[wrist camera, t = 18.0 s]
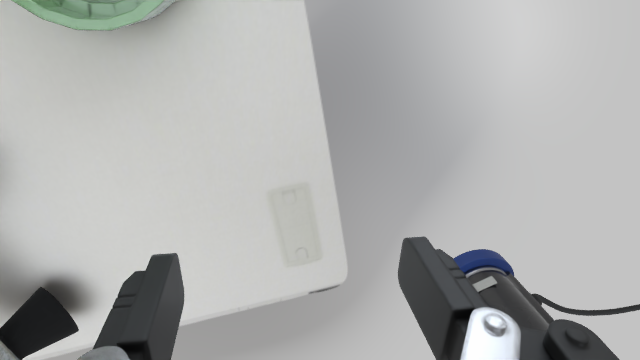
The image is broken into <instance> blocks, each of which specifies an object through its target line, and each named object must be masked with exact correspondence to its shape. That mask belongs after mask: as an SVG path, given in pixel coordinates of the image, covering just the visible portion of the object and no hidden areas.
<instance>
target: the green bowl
mask: <svg viewBox="0 0 640 360" xmlns="http://www.w3.org/2000/svg"><path fill="white" fill-rule="evenodd" d="M12 1H13V2H15V3H17V4H18V5H20V6H22V7H23V8H25V9H27V10H28V11H30V12H31V13H33V14H35V15H36V16H38V17H40V18H42V19H44V20H47V21H50V22H53V23H57V24H60V25H63V26H66V27H69V28H72V29H76V30H105V31H110V30H114V29H118V28H122V27H125V26H129V25H132V24H135V23H138V22H142V21H145V20H148V19H151V18H154V17H156V16H158V15H159V14H160V13H161V12H162V11H164V10H165V9H166V8H167V7H169V6H170V5H171V4H172V3H173V2H175V1H176V0H12Z"/></svg>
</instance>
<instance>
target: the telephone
mask: <svg viewBox="0 0 640 360" xmlns="http://www.w3.org/2000/svg"><path fill="white" fill-rule="evenodd" d="M78 330H79V329H78V327H77V325H76V323H75V321H74V320H73V319H72V317H71V316H70V314H69V313H68V312H67V311H66V309H65V308H64V307H63V306H62V305H61V304H60V303H59V301H58V300H57V299H56V298H55V297H54V296H53V295H51V294H50V293H49V292H48V291H47V290H45V289H44V288H42V287H40V288H39V289H38V290H37V291H36V292H35V293H34V294H33V295H32V296H31V297H30V298H29V299H28V300H27V301H26V302H25V303H24V304H23V305H22V306H21V307H20V309H19V310H18V311H17V312H16V313H15V314H14V315H13V316H12V317H11V318H10V319H9V320H8V321H7V322H6V323H5V324H4V325H3V326H2V327H1V328H0V360H22V359H23V358H24V357H26V356H28V355H30V354H32V353H34V352H36V351H38V350H40V349H42V348H45V347H47V346H49V345H51V344H53V343H55V342H57V341H59V340H61V339H63V338H66V337H68V336H70V335H72V334H74V333H76V332H77V331H78Z"/></svg>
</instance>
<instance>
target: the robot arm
mask: <svg viewBox="0 0 640 360" xmlns="http://www.w3.org/2000/svg"><path fill="white" fill-rule="evenodd" d="M398 279H399V284H400V287H401V289H402V291H403V293H404V295H405V298H406V300H407V302H408V303H409V306H410V308H411V310H412V312H413V314H414V315H415V318H416V320H417V322H418V324H419V326H420V328H421V330H422V332H423V334H424V336H425V337H426V340H427V342H428V344H429V346H430V348H431V350H432V352H433V354H434V356H435V358H436V360H619V359H618V358H617V356H616V355H615V354H613V352H612V351H611V350H610V349H609V348H608V347H607V346H606V345H605V344H604V343H603V341H602V340H601V339H600V338H599V337H598V336H597V335H596V334H595V333H593V332H592V331H591V330H589V329H588V328H586V327H585V326H583V325H581V324H578V323H576V322H573V321H569V320H562V319H561V320H560V319H559V320H555V321H554V320H553V318H552V317H551V316H550V315H549V314H548V313H547V312H546V311H545V310H544V309H543V308H542V306H541V305H542V302H543V303H545V304H546V305H548V306H550V307H552V308H554V309H556V310H559V311H561V312H565V313H569V314H576V315H586V316H589V315H590V316H591V315H593V316H595V315H612V314H619V313H625V312H630V311H636V310H640V304H639V305H634V306H629V307H623V308H617V309H609V310H589V311H588V310H575V309H569V308H565V307H562V306H559V305H557V304H555V303H553V302H551V301H550V300H548V299H546V298H544V297H542V296H541V295H538V294H532V295H531V294H530V293H529V292H528V291H527V290H526V289H525V288H524V287H523V286H522V285H521V284H520V282H518V280H517V279H516V278H515V277H514V276H513V275H512V274H511V273H510V272H509V271H506V272H505V271H503V270H502V269H500V268H498V267H496V266H491V265H484V266H478V267H475V268H472V269H470V270H468V271H466V272H465V273H463V271H462V270H460V267H459V266H458V265H457V263H456V262H455V261H454V259H453V258H452V257H450V256H449V255H447V254H446V253H445V252H443V251H442V250H440V249H437V250H435V249H434V248H433V246H432V245H431V243H430V242H429V240H428V239H427V238H426V237H412V238H405V239H404V240H403V243H402V249H401V256H400V262H399V268H398ZM183 305H184V287H183V281H182V275H181V270H180V264H179V259H178V255H177V254H176V253H172V254H157V255H152V257H151V259H150V261H149V264H148V266H147V269H146V271H135V272H134V273H133V274H132V275H131V276H130V277H129V278H128V279H127V280H126V281H125V282H124V283H123V285H122V287H121V289H120V292H119V294H118V298H116V300H115V302H114V305H113V309H111V311H110V313H109V315H108V317H107V320H106V322H105V324H104V326H103V328H102V330H101V333H100V335H99V337H98V339H97V341H96V343H95V345H94V348H93V350H91V351H89V352H87V353H86V354H84V355H82V356H81V357H80V358H78V359H77V360H171V356H172V352H173V348H174V343H175V339H176V335H177V330H178V327H179V322H180V318H181V314H182V310H183Z"/></svg>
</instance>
